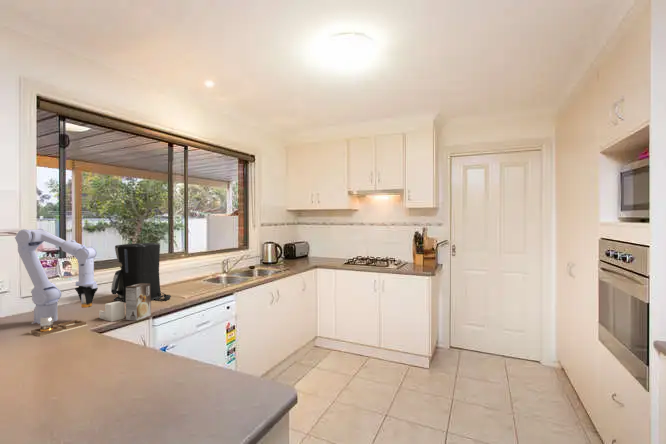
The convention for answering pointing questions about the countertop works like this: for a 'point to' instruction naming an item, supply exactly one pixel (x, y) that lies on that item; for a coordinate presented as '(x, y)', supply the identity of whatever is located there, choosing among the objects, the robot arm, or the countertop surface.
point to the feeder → (113, 311)
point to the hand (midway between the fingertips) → (86, 302)
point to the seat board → (60, 328)
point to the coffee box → (138, 301)
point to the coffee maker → (137, 269)
